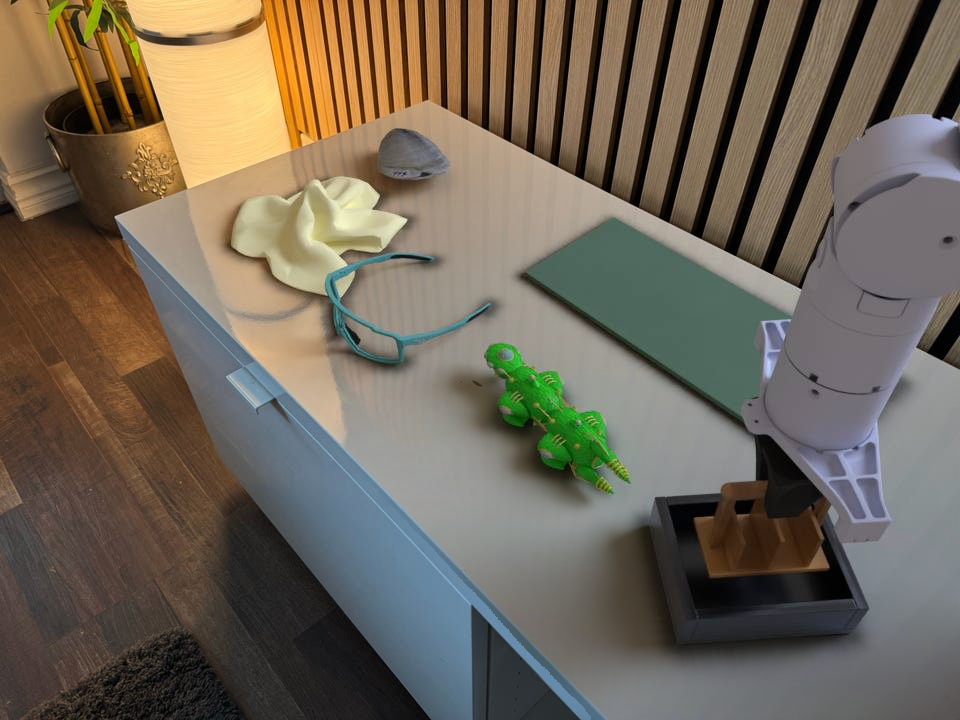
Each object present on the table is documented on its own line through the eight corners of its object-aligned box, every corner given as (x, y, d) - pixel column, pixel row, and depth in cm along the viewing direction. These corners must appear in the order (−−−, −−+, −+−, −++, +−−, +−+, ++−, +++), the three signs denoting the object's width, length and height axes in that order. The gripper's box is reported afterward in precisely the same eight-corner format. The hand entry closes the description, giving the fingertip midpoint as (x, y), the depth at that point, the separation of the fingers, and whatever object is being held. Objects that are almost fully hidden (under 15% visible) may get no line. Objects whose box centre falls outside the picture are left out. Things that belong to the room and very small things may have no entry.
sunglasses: (303, 310, 77) (297, 270, 74) (422, 262, 84) (422, 223, 81) (379, 388, 69) (376, 347, 66) (503, 327, 77) (506, 288, 73)
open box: (803, 514, 59) (817, 486, 56) (851, 633, 52) (870, 608, 49) (648, 524, 59) (654, 496, 56) (677, 645, 52) (686, 620, 49)
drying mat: (899, 382, 68) (901, 378, 67) (812, 469, 62) (814, 465, 61) (613, 221, 86) (614, 217, 86) (524, 276, 80) (524, 271, 80)
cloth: (209, 218, 89) (193, 172, 85) (349, 166, 96) (341, 121, 92) (287, 321, 76) (273, 274, 72) (442, 253, 83) (438, 206, 79)
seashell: (357, 164, 96) (351, 128, 93) (413, 143, 100) (409, 108, 96) (405, 207, 90) (400, 170, 86) (463, 183, 93) (461, 146, 89)
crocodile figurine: (520, 352, 72) (520, 319, 69) (651, 479, 61) (657, 447, 58) (462, 382, 70) (459, 349, 67) (588, 520, 59) (591, 488, 56)
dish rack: (804, 513, 54) (836, 449, 48) (828, 570, 51) (864, 509, 45) (692, 520, 54) (712, 457, 48) (709, 578, 51) (732, 518, 45)
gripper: (725, 268, 44) (687, 418, 53) (816, 474, 33) (749, 613, 43) (846, 260, 44) (786, 411, 53) (973, 464, 34) (871, 605, 43)
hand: (777, 501), depth 48 cm, fingers closed on dish rack
